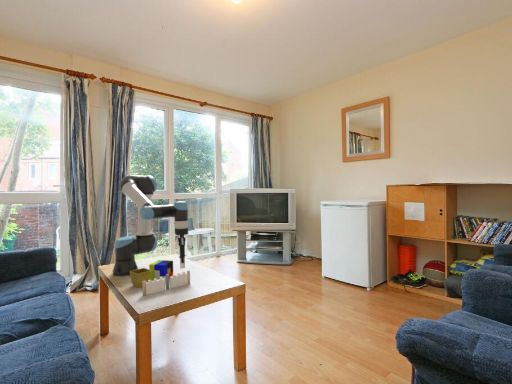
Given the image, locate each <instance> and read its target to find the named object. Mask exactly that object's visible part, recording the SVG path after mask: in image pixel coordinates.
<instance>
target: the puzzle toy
mask: <svg viewBox="0 0 512 384" xmlns="http://www.w3.org/2000/svg"><path fill="white" fill-rule="evenodd" d="M148 266H149V268H148V269H149V270H151V278H150V280H151V281H154V279H155V278H156V279H157V280H159V279H160V277H162V279H163V278H165V281H166V274H169V279H170V277H172V276H173V274H174V260H168V259H167V260H164V259H163V260H162V259H158V260H156V261H154V262H152V263H150V264H149V265H148Z"/></svg>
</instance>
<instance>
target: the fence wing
mask: <svg viewBox="0 0 512 384" xmlns="http://www.w3.org/2000/svg"><path fill="white" fill-rule="evenodd" d="M189 284H191V271H190V270H189V269H188V270H186V271H183V272H182V273H180V272H177V274H175V273H173V276H172V277H170V278H169V289H174V288H179V287H181V286H184V285H189Z"/></svg>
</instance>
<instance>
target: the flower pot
mask: <svg viewBox="0 0 512 384" xmlns="http://www.w3.org/2000/svg"><path fill="white" fill-rule="evenodd" d="M129 277H130V281H131V284H132V286H133V287H135V288H142V281H146V283H147V282H148V280H150V278H151V270H149V268H145V267H143V268H138V269H137V270H133V271H130V275H129Z"/></svg>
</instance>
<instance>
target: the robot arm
mask: <svg viewBox="0 0 512 384" xmlns="http://www.w3.org/2000/svg"><path fill="white" fill-rule="evenodd" d="M156 180H157V179H155V177H154V176H152V175H146V174H144V175H143V174H142V175H140V174H136V175H135V174H130V175H129V174H128V175H126V176H124V177H123V178H122V179H121V181H120V183H119V189H120V191H121V193H122V194H123V195H125V196H127V197H128V198H129V199H130V200H131V201H132V203H133V204H134V205H136V206H137V227H138V228H137V232H136V233H135V236H134V235H128V236H121V237H119V238H117V239H116V240H115V241H114V258H115V262H114V265H113V269H112V275H113V276H117V277H122V276H123V277H124V276H130V271H133V270H137V269H139V267H138V264H137V262H136V260H135V259H136V257H135V256H136V255H141V254H146V253H147V254H148V253H152V252H153V251H155V250H156V248H158V247H157V246H158V238H157V236H156V234H155V233H154V231H152V220H156V219H166V218H174V222H173V225H174V235H175V236H179V237H178V238H177V240H178V246H179V255H178V258H179V269H186V237H185V236H187V235H189V228H188V227H189V213H188V211H189V210H188V209H189V207H188V202H187V201H185V200H184V201H174V202H173V204H170V203H169V204H164V205H163V204H162V205H160V204H159V205H155V204H154V203H153V202H152V196H153V195H154V193H155V192H156V191H157V188H158V186H157V185H158V184H157V181H156Z"/></svg>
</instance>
